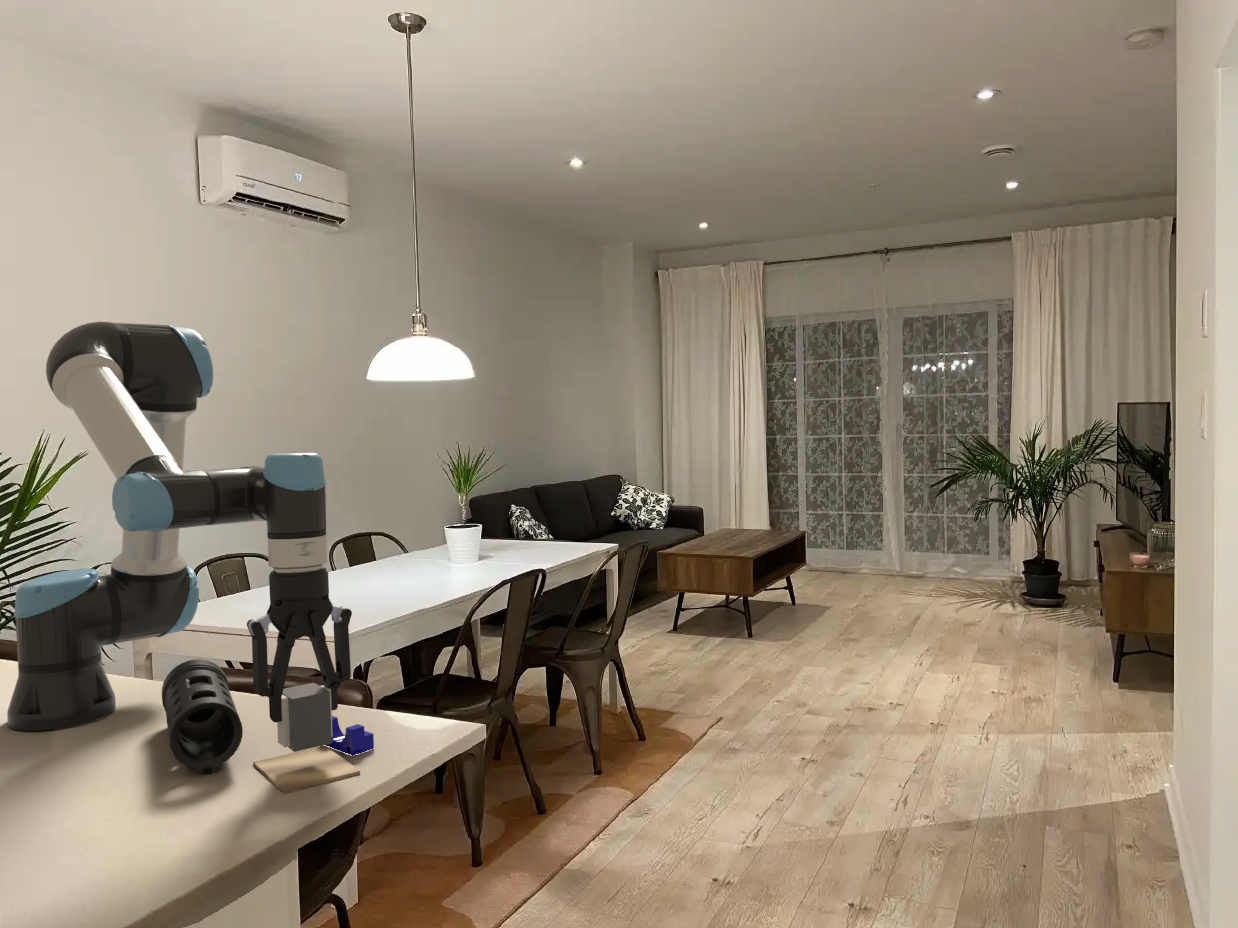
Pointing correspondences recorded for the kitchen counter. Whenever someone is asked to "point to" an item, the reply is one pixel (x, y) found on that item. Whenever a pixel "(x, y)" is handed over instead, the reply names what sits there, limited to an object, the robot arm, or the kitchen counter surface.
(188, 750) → the muzzle brake
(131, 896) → the kitchen counter surface
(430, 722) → the kitchen counter surface
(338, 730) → the cable holder
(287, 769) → the mat
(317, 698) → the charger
